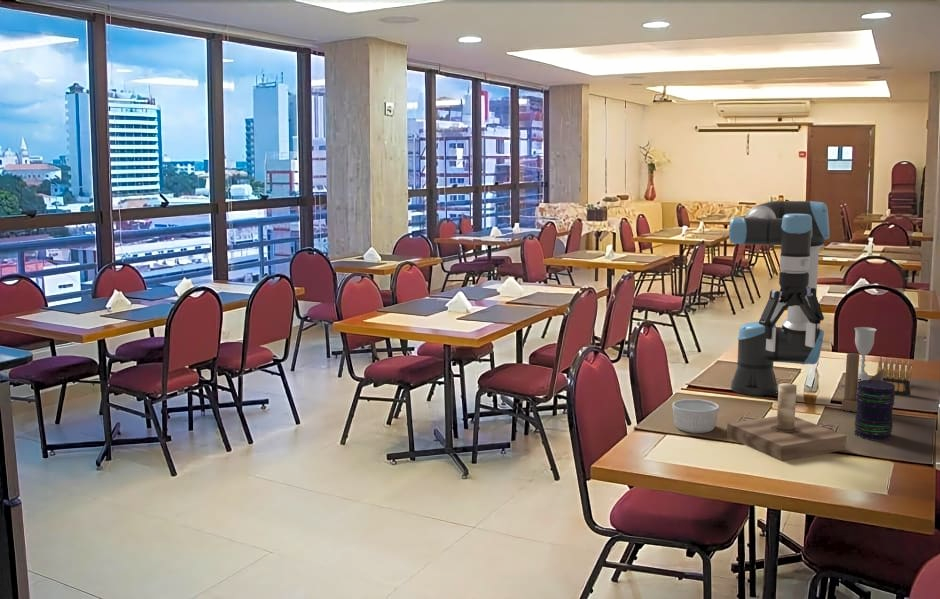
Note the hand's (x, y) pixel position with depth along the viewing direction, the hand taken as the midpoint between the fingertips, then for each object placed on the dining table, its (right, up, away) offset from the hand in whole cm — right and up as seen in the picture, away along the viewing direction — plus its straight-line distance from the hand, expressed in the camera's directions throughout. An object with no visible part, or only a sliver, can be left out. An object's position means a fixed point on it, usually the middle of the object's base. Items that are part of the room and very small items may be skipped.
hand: (790, 348), depth 246 cm
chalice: (+52, -15, +75) cm, 93 cm away
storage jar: (+27, -25, +10) cm, 39 cm away
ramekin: (-22, -24, +18) cm, 37 cm away
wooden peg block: (+34, -22, +33) cm, 52 cm away
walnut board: (0, -26, +4) cm, 27 cm away
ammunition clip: (+54, -18, +55) cm, 79 cm away
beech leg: (0, -26, +3) cm, 26 cm away
